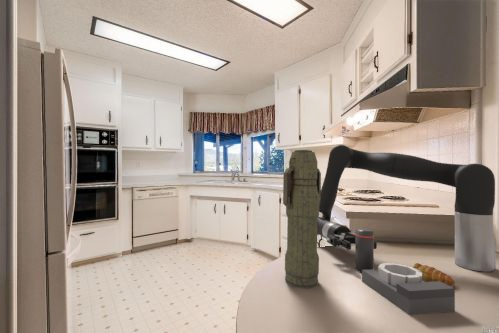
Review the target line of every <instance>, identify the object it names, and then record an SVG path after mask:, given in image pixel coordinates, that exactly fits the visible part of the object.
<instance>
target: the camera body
mask: <svg viewBox="0 0 499 333" xmlns="http://www.w3.org/2000/svg"><path fill="white" fill-rule="evenodd" d="M361 282H363V283H364V284H365V285H367V286H368V287H370V288H371V289H373V291H375V292H377V293H378V294H380V295H381V296H382V297H384V298H385V299H387V300H388V301H389V302H391V303H392V304H393V305H394V306H397V307H398V308H399V309H401V310H402V311H403V312H405V313H406V314H407V315H419V314H420V315H423V314H424V315H425V314H434V313H435V314H436V313H448V312H449V313H450V312H455V311H456V306H455V304H456V299H455V298H456V295H455V294H456V291H455V290H456V289H455V288H454V286H453V287H451V286H449V285H447V284H444V283H442V282H440V281H435V282H424V281H422V272H421V271H419V270H417V269H415V268H413V266H408V265H406V264H400V263H393V262H385V263H384V262H383V263H380V264H379V265H378V268H377V269H376V268H375V269H371V270H362V273H361Z"/></svg>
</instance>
